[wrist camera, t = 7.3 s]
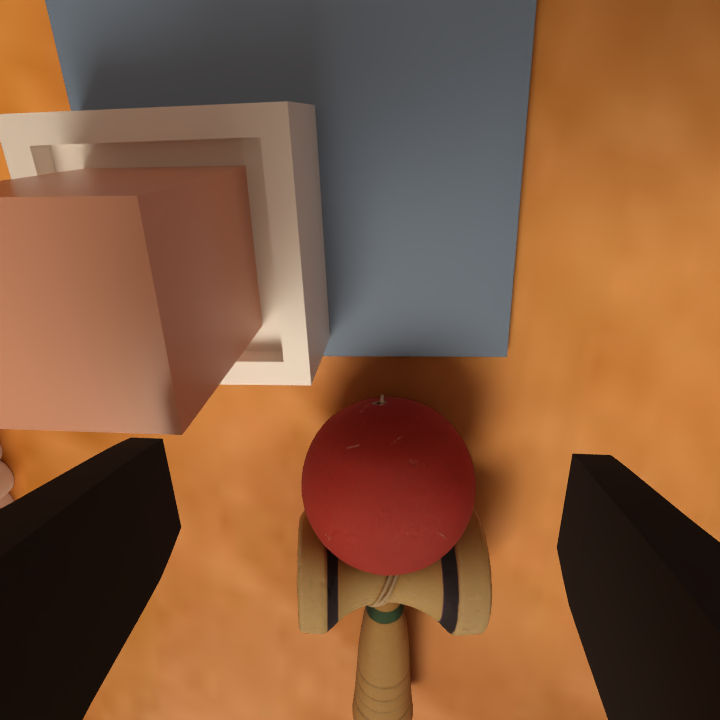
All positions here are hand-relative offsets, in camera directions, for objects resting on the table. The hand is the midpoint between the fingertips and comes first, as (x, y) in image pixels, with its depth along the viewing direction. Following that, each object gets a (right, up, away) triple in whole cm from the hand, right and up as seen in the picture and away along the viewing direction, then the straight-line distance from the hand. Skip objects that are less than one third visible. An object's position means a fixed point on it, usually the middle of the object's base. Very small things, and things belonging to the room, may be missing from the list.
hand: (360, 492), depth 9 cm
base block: (-5, +7, +8) cm, 12 cm away
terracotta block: (-5, +5, +6) cm, 9 cm away
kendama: (+1, -6, +14) cm, 16 cm away
